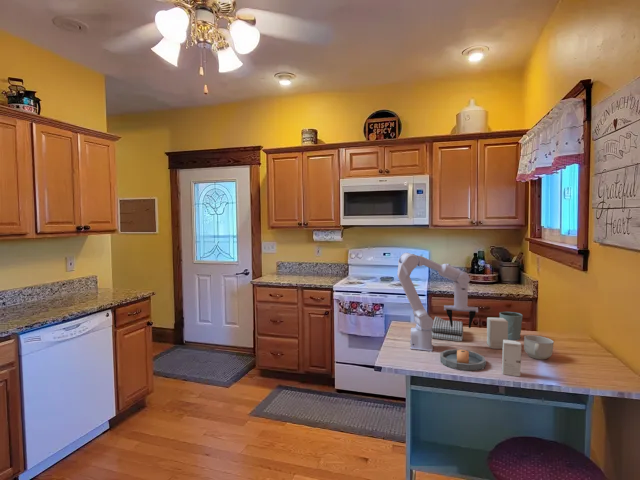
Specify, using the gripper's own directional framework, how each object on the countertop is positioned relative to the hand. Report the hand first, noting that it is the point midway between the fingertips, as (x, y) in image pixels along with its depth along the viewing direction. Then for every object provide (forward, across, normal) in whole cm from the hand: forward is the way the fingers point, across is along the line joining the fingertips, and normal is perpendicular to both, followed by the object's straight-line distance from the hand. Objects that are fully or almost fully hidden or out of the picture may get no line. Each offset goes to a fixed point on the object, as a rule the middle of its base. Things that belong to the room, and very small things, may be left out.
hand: (460, 326), depth 169 cm
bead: (+8, 0, -24) cm, 26 cm away
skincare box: (+10, +17, -26) cm, 33 cm away
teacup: (+10, +30, -5) cm, 32 cm away
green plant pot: (+10, +24, +22) cm, 34 cm away
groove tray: (+9, 0, -20) cm, 22 cm away
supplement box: (+10, +16, +6) cm, 20 cm away
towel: (+10, -6, +17) cm, 20 cm away
